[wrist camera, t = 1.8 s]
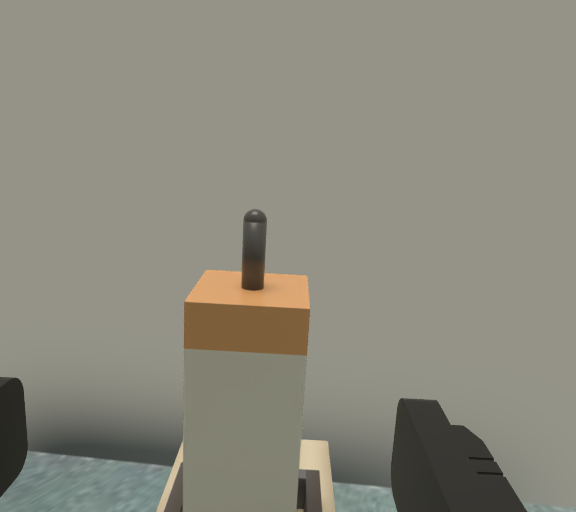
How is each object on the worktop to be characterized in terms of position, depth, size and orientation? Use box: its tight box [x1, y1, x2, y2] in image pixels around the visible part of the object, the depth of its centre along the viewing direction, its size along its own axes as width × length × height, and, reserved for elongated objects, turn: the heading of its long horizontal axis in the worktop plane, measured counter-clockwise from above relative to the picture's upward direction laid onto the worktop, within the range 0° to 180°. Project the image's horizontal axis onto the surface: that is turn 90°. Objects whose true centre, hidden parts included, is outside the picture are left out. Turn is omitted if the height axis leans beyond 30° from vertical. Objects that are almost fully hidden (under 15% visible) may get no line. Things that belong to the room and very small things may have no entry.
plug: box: [183, 209, 310, 512], centre depth 24 cm, size 5×5×18 cm
